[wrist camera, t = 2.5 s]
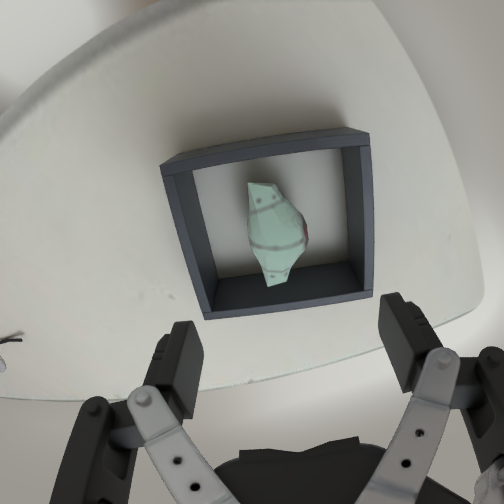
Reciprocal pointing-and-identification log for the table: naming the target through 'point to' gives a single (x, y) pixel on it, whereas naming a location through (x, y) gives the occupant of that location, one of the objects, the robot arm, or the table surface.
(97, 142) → the table surface
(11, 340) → the neon sign
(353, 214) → the bin
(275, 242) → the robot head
